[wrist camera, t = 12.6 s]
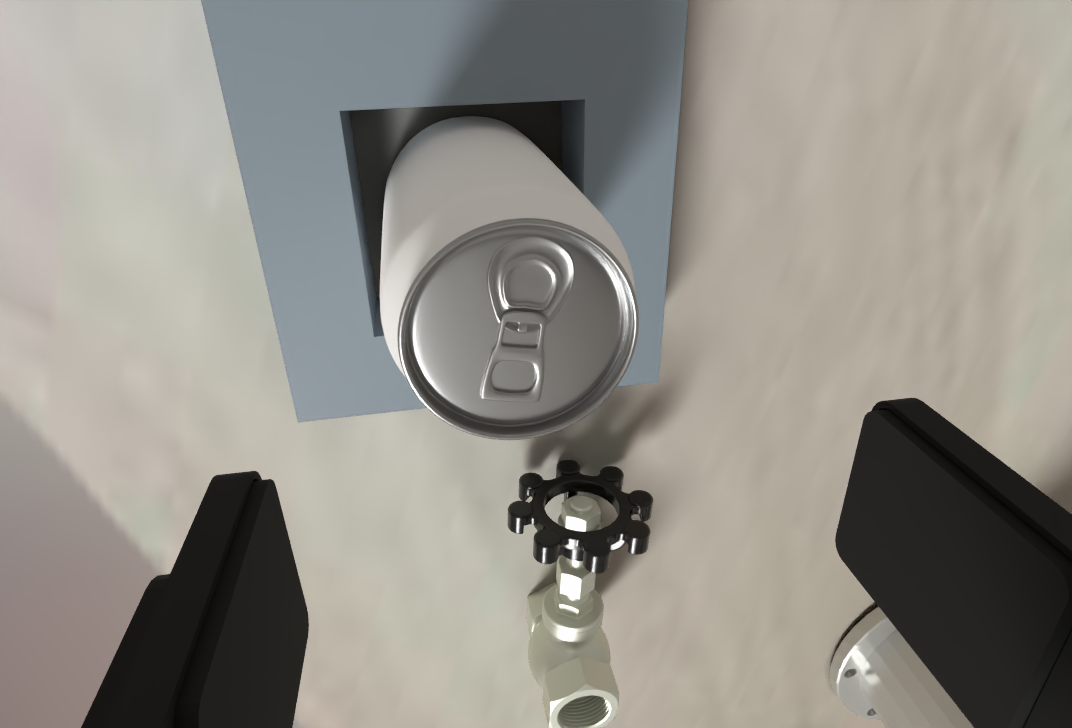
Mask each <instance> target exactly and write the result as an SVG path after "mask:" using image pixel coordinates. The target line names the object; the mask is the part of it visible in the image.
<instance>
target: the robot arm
mask: <svg viewBox="0 0 1072 728" xmlns="http://www.w3.org/2000/svg"><path fill="white" fill-rule="evenodd" d="M835 541H836V548H837V551H838V554H839V556H840V557H841V559H842V561H843V562H844V563H845V564H846V566H847V567H848V568H849V569H850V571H851V572H852V573H853V574H854V576H855V577H856V578H857V580H858V581H859V582H860V583H861V585H862V586H863V587H864V588H865V590H866V591H867V592H868V594H869V595H870V596H871V597H872V599H873V600H874V601H875V602H876V604H877V605H878V607H877V608H875V609H874V610H873V611H871V612H870V613H868V614H867V615H866V616H865V617H864V618H863V619H862V620H860V621H859V622H858V623H857V624H856V625H855V626H854V627H853V628H852V629H851V631H850V632H849V633H848V634H847V635H846V637H845V638H844V639H843V640H842V642H841V644H840V646H839V647H838V649H837V651H836V652H835V655H834V658H833V661H832V663H831V666H830V677H829V678H830V682H831V687H832V689H833V691H834V692H835V694H836V696H837V697H838V699H839V701H840V703H841V704H842V705H843V706H844V707H845V708H846V709H847V710H848V711H850V712H852V713H853V714H855V715H857V716H860V717H864V718H868V719H877V720H881V721H882V723H883V724H884V726H885V727H886V728H1072V514H1070V513H1069V512H1068V511H1066V510H1065V509H1064V508H1062V507H1061V506H1060V505H1058V504H1057V503H1056V502H1054V501H1053V500H1052V499H1050V498H1049V497H1048V496H1046V495H1045V494H1044V493H1043V492H1041V491H1040V490H1039V489H1037V488H1036V487H1035V486H1033V485H1032V484H1031V483H1029V482H1028V481H1027V480H1025V479H1024V478H1023V477H1021V476H1020V475H1019V474H1017V473H1016V472H1015V471H1014V470H1012V469H1011V468H1010V467H1008V466H1007V465H1006V464H1004V463H1003V462H1002V461H1000V460H999V459H998V458H996V457H995V456H994V455H992V454H991V453H990V452H988V451H987V450H986V449H984V448H983V447H982V446H981V445H979V444H978V443H977V442H975V441H974V440H973V439H971V438H970V437H969V436H967V435H966V434H965V433H963V432H962V431H961V430H959V429H958V428H957V427H955V426H954V425H953V424H952V423H950V422H949V421H948V420H946V419H945V418H944V417H942V416H941V415H940V414H938V413H937V412H936V411H934V410H933V409H932V408H930V407H929V406H928V405H926V404H925V403H924V402H923V401H921V400H919V399H917V398H906V399H897V400H888V401H881V402H878V403H877V404H876V405H875V406H874V407H873V409H872V411H871V412H868V413H867V414H866V415H865V417H864V420H863V424H862V428H861V432H860V437H859V441H858V445H857V449H856V453H855V457H854V462H853V466H852V470H851V474H850V478H849V482H848V487H847V491H846V495H845V499H844V503H843V507H842V512H841V516H840V520H839V524H838V528H837V533H836V539H835ZM308 627H309V623H308V612H307V607H306V603H305V599H304V595H303V591H302V587H301V583H300V579H299V576H298V572H297V568H296V564H295V560H294V556H293V552H292V548H291V544H290V540H289V536H288V532H287V529H286V525H285V521H284V517H283V513H282V509H281V505H280V501H279V497H278V493H277V489H276V486H275V483H274V481H273V480H271V479H268V480H262V479H261V476H260V475H259V473H258V472H256V471H250V472H241V473H232V474H223V475H216V476H214V477H213V478H212V480H211V482H210V484H209V486H208V489H207V491H206V493H205V496H204V498H203V500H202V502H201V505H200V507H199V509H198V512H197V514H196V516H195V518H194V521H193V523H192V525H191V528H190V530H189V532H188V535H187V537H186V539H185V541H184V544H183V546H182V548H181V551H180V553H179V555H178V557H177V560H176V562H175V564H174V567H173V569H172V571H171V573H170V574H167V575H159V576H157V577H155V578H154V579H153V580H151V582H150V584H149V585H148V587H147V588H146V590H145V592H144V594H143V597H142V599H141V601H140V603H139V605H138V607H137V609H136V611H135V614H134V616H133V618H132V620H131V622H130V624H129V626H128V628H127V631H126V633H125V635H124V637H123V639H122V641H121V643H120V646H119V648H118V650H117V652H116V654H115V656H114V658H113V661H112V663H111V665H110V667H109V669H108V671H107V673H106V676H105V678H104V680H103V682H102V684H101V686H100V688H99V691H98V693H97V695H96V697H95V699H94V701H93V703H92V706H91V708H90V710H89V712H88V714H87V716H86V718H85V721H84V723H83V725H82V727H81V728H292V725H293V720H294V714H295V709H296V703H297V697H298V691H299V685H300V679H301V673H302V668H303V662H304V656H305V650H306V644H307V638H308Z"/></svg>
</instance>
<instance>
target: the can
mask: <svg viewBox="0 0 1072 728" xmlns="http://www.w3.org/2000/svg"><path fill="white" fill-rule="evenodd" d="M380 314H381V322H382V327H383V332H384V336H385V340H386V343H387V346H388V348H389V351H390V353H391V355H392V357H393V359H394V361H395V363H396V365H397V366H398V368H399V369H400V371H401V372H402V373H403V375H404V376H405V377H406V379H407V381H408V383H409V385H410V387H411V388H412V390H413V391H414V393H415V394H416V396H417V397H418V398H419V400H420V401H421V402H422V403H423V404H424V405H425V406H426V407H427V408H428V409H429V410H430V411H431V412H432V413H433V414H434V415H436V416H437V417H438V418H440V419H441V420H443V421H444V422H446V423H447V424H449V425H451V426H453V427H455V428H457V429H459V430H461V431H464V432H466V433H469V434H472V435H476V436H480V437H484V438H490V439H498V440H520V439H529V438H535V437H539V436H543V435H547V434H550V433H553V432H556V431H559V430H561V429H563V428H566V427H568V426H570V425H572V424H574V423H576V422H577V421H579V420H581V419H582V418H584V417H585V416H587V415H588V414H589V413H591V412H592V411H593V410H595V409H596V408H597V407H598V406H599V405H600V404H602V403H603V402H604V401H605V400H606V399H607V398H608V396H609V395H610V394H611V393H612V392H613V391H614V389H615V388H616V387H617V385H618V384H619V383H620V381H621V379H622V378H623V376H624V374H625V373H626V371H627V369H628V367H629V365H630V362H631V360H632V357H633V354H634V351H635V348H636V344H637V339H638V332H639V310H638V303H637V298H636V294H635V286H634V277H633V272H632V268H631V264H630V261H629V258H628V255H627V253H626V251H625V249H624V246H623V244H622V243H621V241H620V239H619V237H618V235H617V234H616V232H615V231H614V229H613V228H612V226H611V225H610V224H609V223H608V221H607V220H606V219H605V218H604V217H603V215H602V214H601V213H600V212H599V211H598V210H597V209H596V208H595V206H594V205H593V204H592V203H591V202H590V201H589V200H588V199H587V198H586V197H585V196H584V195H583V194H582V193H581V191H580V190H579V189H578V188H577V187H576V186H575V185H574V184H573V183H572V182H571V181H570V180H569V179H568V178H567V177H566V176H565V175H564V174H563V173H562V172H561V171H560V170H559V169H558V168H557V166H556V165H555V164H554V163H553V162H552V161H551V160H550V159H549V158H548V157H547V156H546V155H545V154H544V153H543V152H542V151H541V150H540V149H539V148H538V147H537V146H536V145H535V144H534V143H533V142H532V141H530V140H529V139H528V138H527V137H526V136H525V135H524V134H522V133H521V132H520V131H518V130H517V129H515V128H514V127H512V126H511V125H509V124H507V123H505V122H502V121H500V120H496V119H492V118H487V117H479V116H466V117H455V118H450V119H446V120H442V121H439V122H437V123H434V124H432V125H430V126H429V127H427V128H425V129H424V130H422V131H421V132H419V133H418V134H417V135H415V136H414V137H413V138H412V139H411V140H410V141H409V142H408V143H407V144H406V145H405V146H404V148H403V149H402V150H401V152H400V153H399V155H398V156H397V158H396V160H395V161H394V164H393V166H392V168H391V170H390V173H389V176H388V179H387V184H386V189H385V197H384V209H383V227H382V247H381V271H380Z"/></svg>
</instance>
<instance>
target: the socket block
mask: <svg viewBox="0 0 1072 728" xmlns="http://www.w3.org/2000/svg"><path fill="white" fill-rule="evenodd" d="M201 2H202V6H203V11H204V15H205V20H206V24H207V28H208V33H209V37H210V41H211V46H212V50H213V54H214V59H215V63H216V67H217V72H218V76H219V80H220V85H221V89H222V94H223V98H224V102H225V107H226V111H227V115H228V120H229V124H230V128H231V133H232V137H233V141H234V146H235V150H236V155H237V159H238V163H239V168H240V172H241V176H242V181H243V185H244V189H245V194H246V198H247V202H248V207H249V211H250V215H251V220H252V224H253V229H254V233H255V237H256V242H257V246H258V250H259V255H260V259H261V263H262V268H263V272H264V276H265V281H266V285H267V289H268V294H269V298H270V303H271V307H272V311H273V316H274V320H275V324H276V329H277V333H278V337H279V342H280V346H281V350H282V355H283V359H284V364H285V368H286V372H287V377H288V381H289V385H290V390H291V394H292V398H293V403H294V407H295V411H296V416H297V420H298V422H306V421H315V420H324V419H333V418H342V417H351V416H360V415H369V414H378V413H386V412H395V411H404V410H413V409H422V408H427V407H426V406H425V405H424V404H423V403H422V402H421V401H420V400H419V398H418V397H417V396H416V394H415V393H414V391H413V390H412V388H411V387H410V385H409V383H408V381H407V379H406V377H405V376H404V375H403V373H402V372H401V371H400V369H399V368H398V366H397V365H396V363H395V361H394V359H393V357H392V355H391V353H390V351H389V348H388V346H387V343H386V340H385V336H384V332H383V327H382V322H381V314H380V299H377V297H376V291H375V284H374V277H373V270H372V263H371V256H370V250H369V243H368V236H367V229H366V222H365V215H364V209H363V202H362V195H361V188H360V181H359V174H358V168H357V161H356V154H355V147H354V140H353V133H352V127H351V120H350V113H349V110H369V109H390V108H411V107H433V106H454V105H475V104H497V103H518V102H539V101H561V100H562V173H563V174H564V175H565V176H566V177H567V178H568V179H569V180H570V181H571V182H572V183H573V184H574V185H575V186H576V187H577V188H578V189H579V190H580V191H581V193H582V194H583V195H584V196H585V197H586V198H587V199H588V200H589V201H590V202H591V203H592V204H593V205H594V206H595V208H596V209H597V210H598V211H599V212H600V213H601V214H602V215H603V217H604V218H605V219H606V220H607V221H608V223H609V224H610V225H611V226H612V228H613V229H614V231H615V232H616V234H617V235H618V237H619V239H620V241H621V243H622V244H623V246H624V249H625V251H626V253H627V255H628V258H629V261H630V264H631V268H632V272H633V277H634V286H635V294H636V298H637V303H638V310H639V332H638V339H637V344H636V348H635V351H634V354H633V357H632V360H631V362H630V365H629V367H628V369H627V371H626V373H625V374H624V376H623V378H622V379H621V381H620V383H619V384H618V385H617V387H619V386H628V385H637V384H646V383H655V382H659V370H660V357H661V344H662V331H663V318H664V306H665V293H666V280H667V267H668V254H669V242H670V229H671V216H672V203H673V190H674V178H675V165H676V152H677V139H678V126H679V114H680V101H681V88H682V75H683V62H684V50H685V37H686V24H687V11H688V0H201Z"/></svg>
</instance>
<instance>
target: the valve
mask: <svg viewBox="0 0 1072 728" xmlns="http://www.w3.org/2000/svg"><path fill="white" fill-rule="evenodd" d="M623 476H624V474H623V472H622V470H621V469H619V468H617V467H614V466H607V467H604V468H602V469H601V471H600V474H599V475H598V476H588V475H583V474H581V473H580V466H579V464H578V463H577V462H576V461H573V460H562V461H560V462H558V464H557V467H556V478H555V479H552V480H543V478H542V477H541V476H540V475H539V474H536V473H526V474H524V475H522V476H521V477H520V479H519V498H520V499H521V500H522V501H516V502H513V503H512V504H510V506H509V507H508V528H509V529H510V530H511V531H512V532H514V533H518V534H523V528H524V526H525V525H528V524H534V526H535V528H536V529H537V531H538V532H537V533H536V534H535V535H534V545H533V556H534V558H535V559H536V560H537V561H538V562H540V563H542V564H551V563H554V562H556V561H557V571H556V580H557V581H556V582H554V583H552V584H550V585H548V586H546V587H544V588H542V589H540V590H538V591H537V592H535V593H533V594H531V595H529V596H528V597H527V626H528V631H529V636H530V640H529V647H528V660H529V666H530V669H531V672H532V675H533V677H534V679H535V680H536V682H537V684H538V685H539V686H540V688H541V689H542V690H543V704H544V709H545V713H546V718H547V723H548V728H602V727H604V726H605V725H607V724H608V723H610V722H611V721H612V720H613V719H615V718H616V715H617V711H618V704H619V690H618V687H617V684H616V681H615V678H614V675H613V672H612V668H611V665H610V649H609V644H608V640H607V638H606V635H605V633H604V631H603V630H602V628H601V624H602V618H603V608H604V605H603V601H602V598H601V596H600V595H599V593H598V592H597V591H596V590H595V589H594V586H595V576H596V573H603V572H605V571H606V570H607V569H608V568H609V565H610V556H611V551H612V550H617V549H619V548H621V547H622V546H623V545H624V544H625V543H628V544H629V548H628V553H631V554H636V555H638V554H642V553H644V552H646V550H647V549H648V543H649V536H650V528H649V527H648V525H647V524H645V523H644V521H647V520H649V519H650V517H651V512H652V505H653V497H652V496H651V495H650V494H649V493H648V492H646V491H642V490H636V491H633V492H631V493H630V494H627V493H624V492H622V484H623ZM577 491H580V492H589V493H593V494H596V495H598V496H601V497H602V498H604V499H606V500H607V501H608V502H610V503H611V504H612V505H613V506H614V508H615V509H616V511H617V513H618V517H617V519H616V520H615V521H614V522H613V523H612V524H611V525H609V526H607V527H605V528H602V520H601V512H600V508H599V505H598V503H597V501H596V500H595V499H592V498H590V497H586V496H581V495H577ZM562 493H564V502H563V503H562V511H561V515H560V516H559V519H558V524H557V523H555V522H554V521H553V520H552V519H550V518H549V516H548V515H547V514H546V511H545V509H544V508H545V506H546V504H547V503H548V502H549V501H550V500H551V499H552V498H553V497H555V496H557V495H559V494H562ZM530 496H531V497H533V499H532V501H531V502H530V503H528V502H525V501H526V500H527V499H528V498H529V497H530ZM634 514H639V516H640V519H641V521H638V520H632V519H631V516H632V515H634ZM560 555H561V556H560ZM558 556H560V557H559V558H558Z"/></svg>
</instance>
